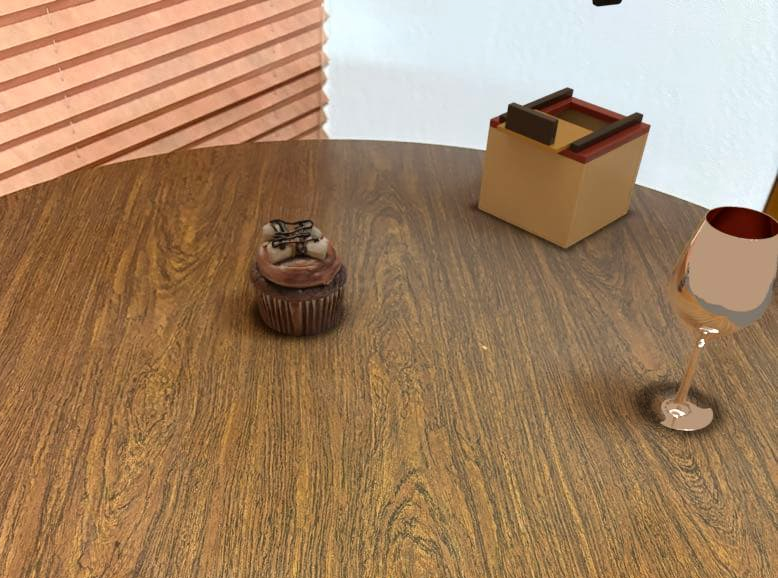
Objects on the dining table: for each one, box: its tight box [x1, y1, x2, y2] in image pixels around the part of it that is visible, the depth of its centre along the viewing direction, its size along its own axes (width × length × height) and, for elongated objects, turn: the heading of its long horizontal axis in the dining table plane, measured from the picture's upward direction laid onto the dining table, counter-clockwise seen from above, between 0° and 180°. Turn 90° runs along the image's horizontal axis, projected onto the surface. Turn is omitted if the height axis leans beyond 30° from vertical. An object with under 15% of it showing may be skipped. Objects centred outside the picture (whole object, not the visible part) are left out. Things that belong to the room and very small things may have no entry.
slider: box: [497, 102, 593, 154], centre depth 93 cm, size 7×8×3 cm
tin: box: [477, 87, 651, 250], centre depth 100 cm, size 13×13×12 cm
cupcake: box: [248, 217, 349, 337], centre depth 83 cm, size 10×10×10 cm
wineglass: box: [659, 205, 778, 432], centre depth 73 cm, size 8×8×18 cm
